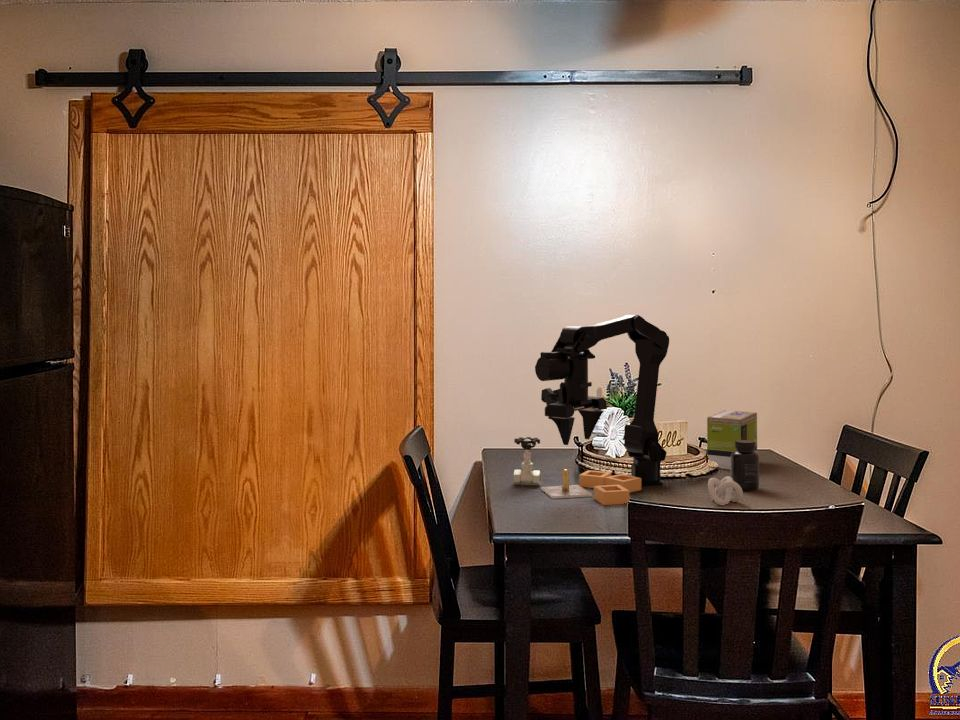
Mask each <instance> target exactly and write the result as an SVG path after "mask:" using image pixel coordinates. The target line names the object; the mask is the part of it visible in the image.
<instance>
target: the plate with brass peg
mask: <svg viewBox="0 0 960 720" xmlns="http://www.w3.org/2000/svg"><path fill="white" fill-rule="evenodd" d="M539 490H540V491H542V492H543V493H544V492H545V493H544V494H545V495H547V496H548V497H549V498H551V499H552V500H555V499H556V500H557V499H570V498H571V499H572V498H573V499H574V498H590V497H593V493H591V492H590V491H588V490H587V489H586V488H585V487H581V486H579V484H571V485H570V470H569V469H568V468H564V469H563V470H562V471H561V485H554V486H553V485H551V486H540V488H539Z"/></svg>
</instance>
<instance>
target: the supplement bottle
mask: <svg viewBox="0 0 960 720" xmlns="http://www.w3.org/2000/svg"><path fill="white" fill-rule="evenodd" d="M735 449H736V450H735V451H734V452H732V454H731V470H730V477H731V478H732V479H733V481H734V482H736V483H737V484H739V485H740V487H741V488H742V491H743V492H755V491H758V490H759V488H760V454H759V453H758V451H757V452H755V451H754V449H755V441H751V440H736V441H735ZM733 490H735V489H734V488H733Z"/></svg>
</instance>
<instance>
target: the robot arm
mask: <svg viewBox="0 0 960 720" xmlns="http://www.w3.org/2000/svg"><path fill="white" fill-rule="evenodd" d="M624 334H627V336H628V339H630V341H632V342H633V343H634V345H635V347H634V349H635V355H636V357H637V359H638V362H639V369H638V378H637V386H636V387H637V389H636V397H635V407H634V416H633V419H632V421H631V422H630V423H629V424H625V425H624V429H623V430H624V433H623V437H622V440H623V441H624V442H623V443H624V447H625V448H626V450H627V454H628V458H632V460H633V461H632V462H633V463H632V464H631V467H630V469H631V472H630V473H631V474H630V476H634V477H638V478H641V486H644V485H645V486H649V485H661V484H664V481H663V480H661V462H662V461H665V460H666V457H667V451H666V450H665V449H664V447H663V446H662V445H661V444H660V442H659V431H658V429H657V426H656V423H655V421H654V420H655V419H654V418H655V411H656V410H655V409H656V401H657V391H658V390H657V389H658V383H659V373H660V371H659V370H660V365H661V364H662V362H663V361H664V360H665V358H666V356H667V354H668V350H669V346H670V336H669V335H668V334H667V332H665V331H664V330H661V329H660V328H659V327H657V326H656V325H654V324H652V323H650V321H649V322H648V321H647V320H646V319H644V317H642V316H641V315H639V314H625V315H623V316H621V317H617V318H613V319H609V320H606V321H602V322H598V323H594V324H592V325H567V326H565V327H563V328H562V330H561V331H560V335H559V337H558V339H557V341H556V342H555V344H554V346H553V348H552V349H551V351H549V352H548V351H541V352H540V357H539V358H537V360H536V362H535V363H536V364H535V366H534V372H535V375H536V377H537V378H538V380H539V381H540V382H549V381H558V380H559V381H561V380H563V382H560V384H559V388H558V389H554V390H553V389H552V388H551V387H546V388H544V389H542V390H541V399H540V400H541V402H543V403H545V404H546V406H545V407H544V416H545V417H547V418H548V419H549V420H551V421H552V422H554V424H555V425H556V427H557V430H558V432H559V435H560V438H561V441H562V444H563V445H565V446H569V444H570V443H569V442H570V439H571V436H572V432H573V429H574V428H573V426H574V424H575V423H574V422H575V419H576V418H575V417H573V416H574V414H575V412H577V411H578V413H579V415H580V416H581V417H582V426H583V428H582V429H583V435H584V439H585V440H590V439H591V436H592V434H593V432H594V429H595V428H596V425H597V424H598V422H599V420H600V418H601V416H602V414H603V413H604V410H607V405H608V404H607V399H606V398H604V397H602V396H591V395H589V388H590V387H592V386H593V385H592V384H593V383H592V381H589V360H592V359H595V358H596V355H595V354H594V353H592V352H591V351H590V349H591V348H593V347H595V346H596V345H597V344H598V343H599V342H601V341H602V340H606V339H609V338H613V337H617V336H620V335H624Z"/></svg>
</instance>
